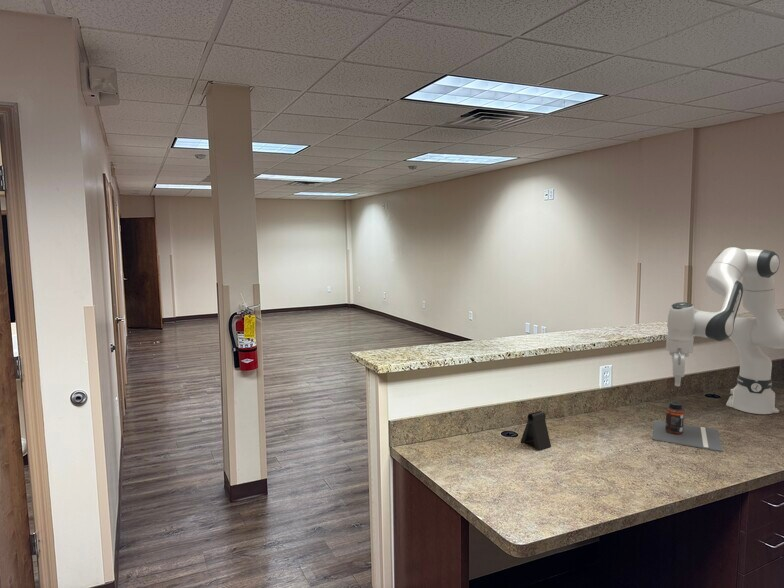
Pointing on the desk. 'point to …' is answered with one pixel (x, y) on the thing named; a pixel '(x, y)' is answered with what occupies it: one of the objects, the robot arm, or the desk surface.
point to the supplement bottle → (674, 418)
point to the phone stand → (536, 432)
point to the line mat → (689, 436)
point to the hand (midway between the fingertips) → (677, 382)
